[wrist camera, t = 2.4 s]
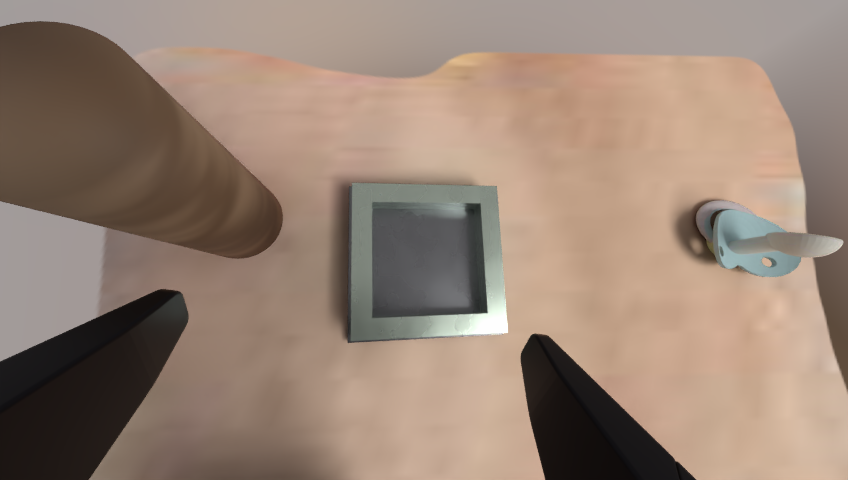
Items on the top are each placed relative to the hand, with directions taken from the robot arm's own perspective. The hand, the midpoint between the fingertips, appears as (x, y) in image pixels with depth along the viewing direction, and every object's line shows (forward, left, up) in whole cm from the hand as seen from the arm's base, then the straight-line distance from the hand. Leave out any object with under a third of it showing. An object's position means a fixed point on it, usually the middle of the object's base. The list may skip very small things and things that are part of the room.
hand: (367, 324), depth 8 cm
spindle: (-1, +10, -12) cm, 16 cm away
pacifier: (+21, -20, -12) cm, 31 cm away
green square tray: (+4, -1, -12) cm, 13 cm away
